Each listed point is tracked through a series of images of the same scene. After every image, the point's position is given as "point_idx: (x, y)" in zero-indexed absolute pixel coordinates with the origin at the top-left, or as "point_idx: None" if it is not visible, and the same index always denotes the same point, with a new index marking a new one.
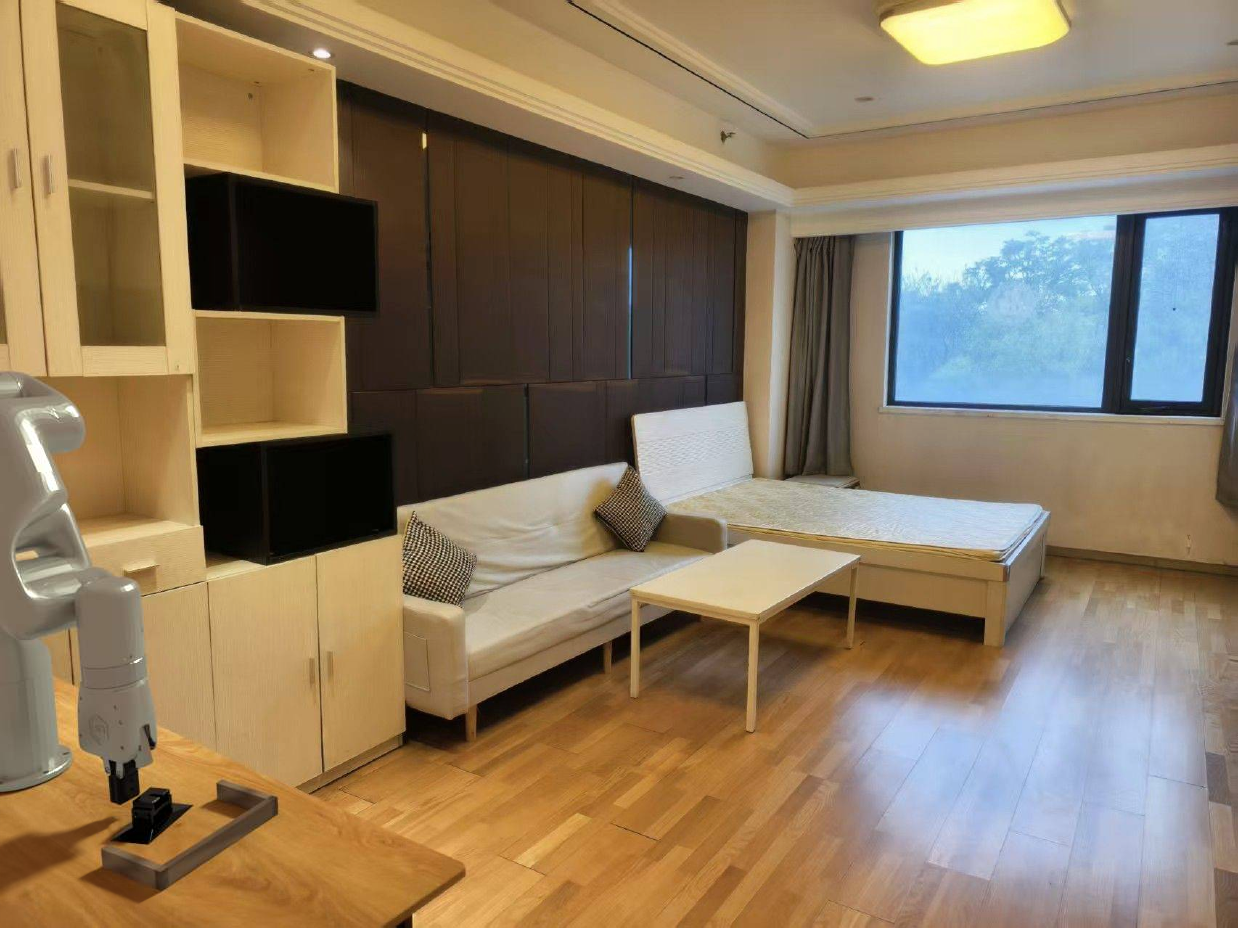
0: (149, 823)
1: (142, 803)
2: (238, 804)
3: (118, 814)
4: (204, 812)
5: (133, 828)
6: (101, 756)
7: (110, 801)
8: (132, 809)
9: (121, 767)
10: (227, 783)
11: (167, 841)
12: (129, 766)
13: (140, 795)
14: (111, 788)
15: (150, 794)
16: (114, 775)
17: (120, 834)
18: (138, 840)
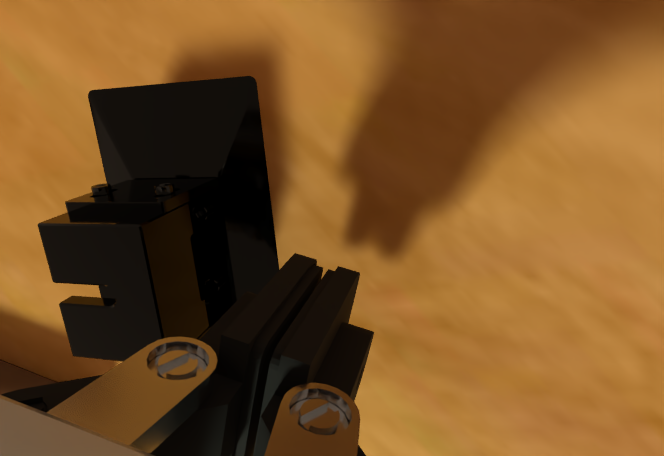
0: (123, 184)
1: (89, 221)
2: (9, 369)
3: (379, 273)
4: None
5: (210, 171)
6: (116, 454)
7: (359, 273)
8: (156, 199)
9: (103, 391)
10: None
11: (44, 129)
12: (21, 393)
13: (145, 283)
14: (315, 307)
15: (117, 303)
16: (277, 378)
17: (235, 123)
18: (139, 106)
